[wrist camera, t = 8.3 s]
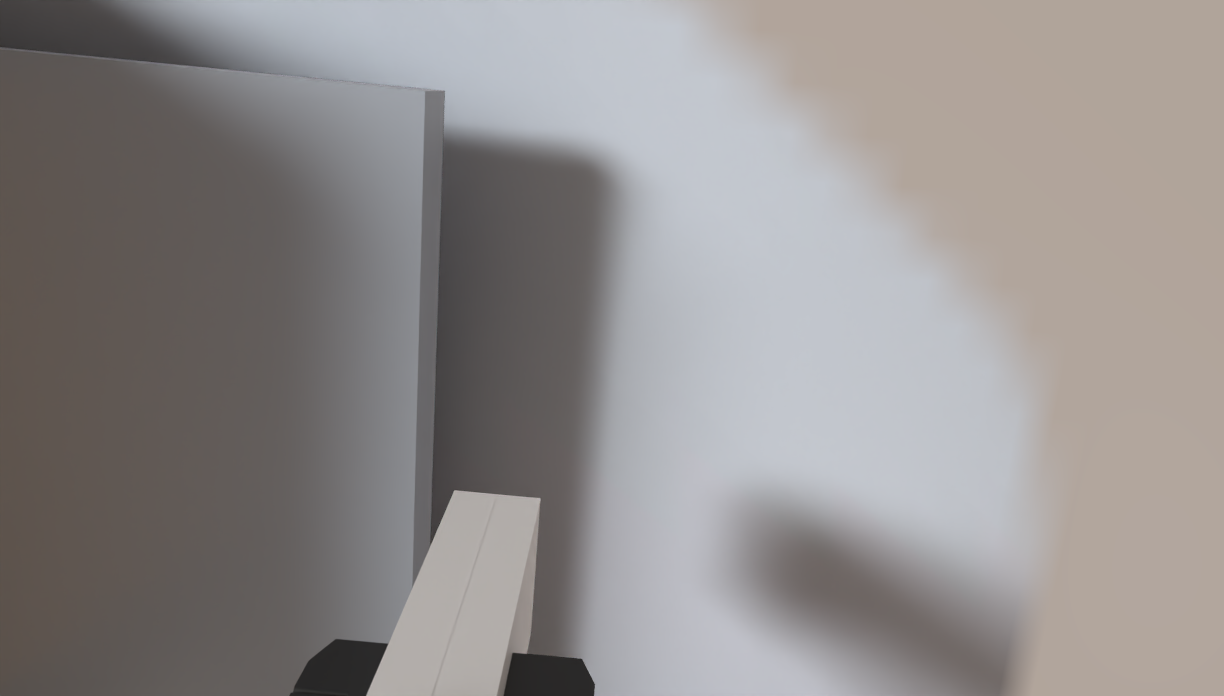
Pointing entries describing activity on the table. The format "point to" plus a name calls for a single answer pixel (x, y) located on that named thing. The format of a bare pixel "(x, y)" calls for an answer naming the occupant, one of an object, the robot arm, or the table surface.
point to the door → (210, 371)
